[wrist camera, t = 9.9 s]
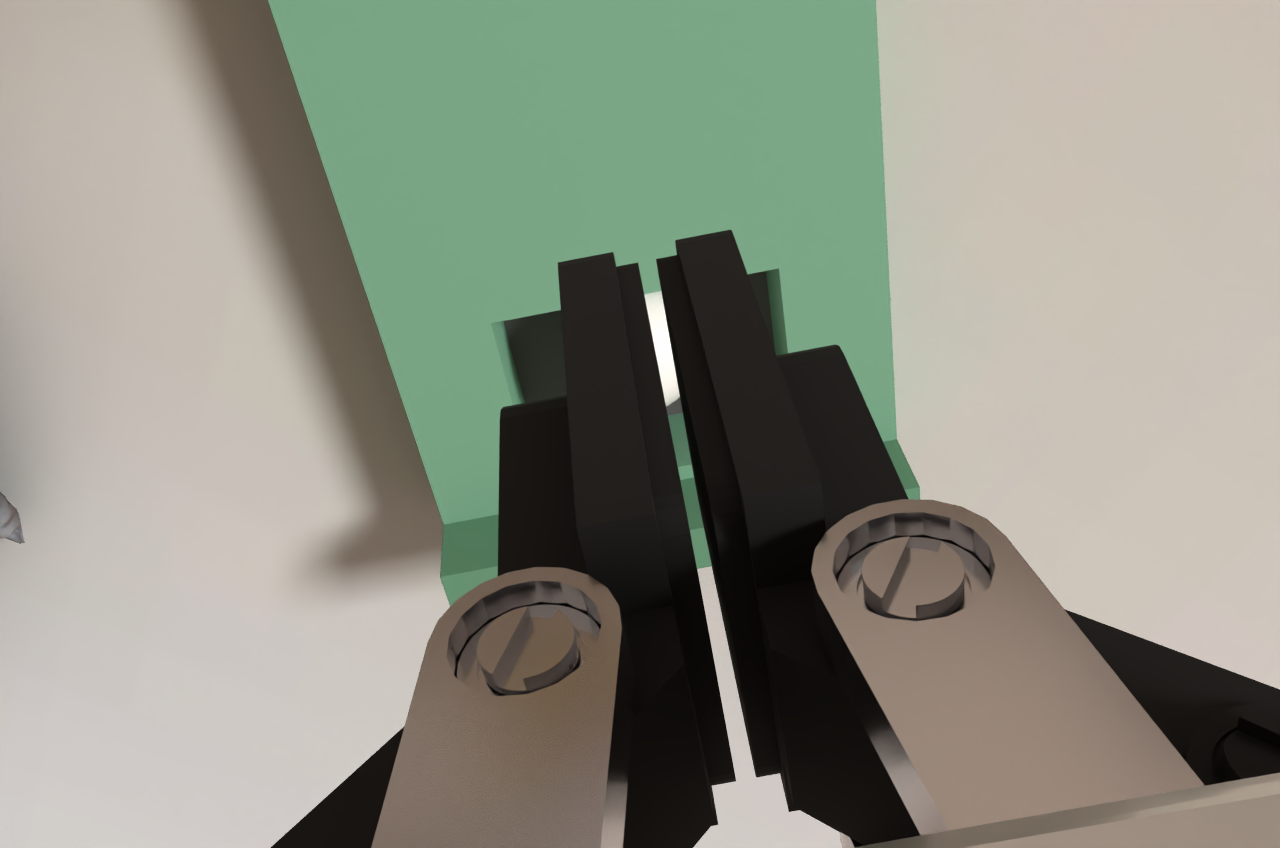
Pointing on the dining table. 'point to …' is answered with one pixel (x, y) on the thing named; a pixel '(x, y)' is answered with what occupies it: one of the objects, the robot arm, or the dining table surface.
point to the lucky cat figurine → (9, 521)
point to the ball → (662, 346)
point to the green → (590, 194)
